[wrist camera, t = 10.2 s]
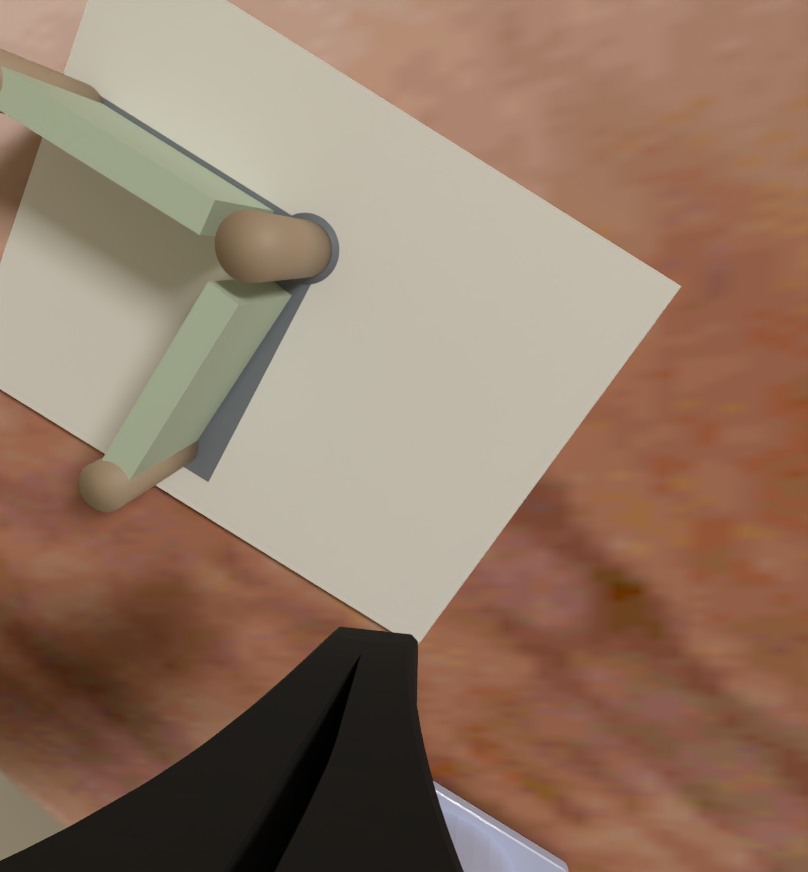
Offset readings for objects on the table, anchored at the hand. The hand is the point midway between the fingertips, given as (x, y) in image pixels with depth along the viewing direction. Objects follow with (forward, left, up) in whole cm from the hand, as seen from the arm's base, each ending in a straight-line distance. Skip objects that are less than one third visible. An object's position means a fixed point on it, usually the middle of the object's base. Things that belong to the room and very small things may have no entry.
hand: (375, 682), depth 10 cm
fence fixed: (+4, +11, -10) cm, 15 cm away
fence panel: (-1, +7, -9) cm, 12 cm away
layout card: (+1, +7, -10) cm, 12 cm away
